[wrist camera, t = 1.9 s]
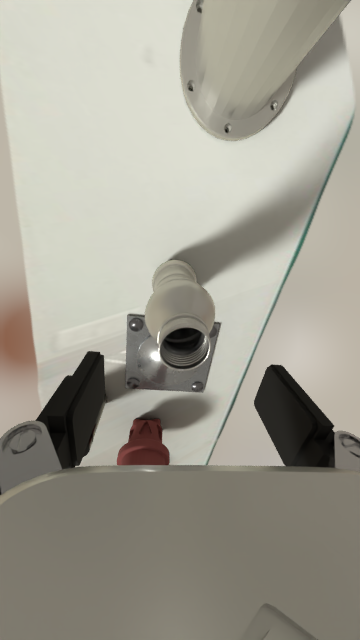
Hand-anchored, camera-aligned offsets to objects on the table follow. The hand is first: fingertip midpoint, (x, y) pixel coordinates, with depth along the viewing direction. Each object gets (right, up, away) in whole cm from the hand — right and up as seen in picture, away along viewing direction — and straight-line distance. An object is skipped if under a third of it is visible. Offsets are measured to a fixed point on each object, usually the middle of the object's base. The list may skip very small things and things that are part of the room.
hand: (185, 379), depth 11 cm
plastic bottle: (-1, +10, +20) cm, 23 cm away
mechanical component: (-8, -20, +34) cm, 40 cm away
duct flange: (-2, -4, +26) cm, 27 cm away
